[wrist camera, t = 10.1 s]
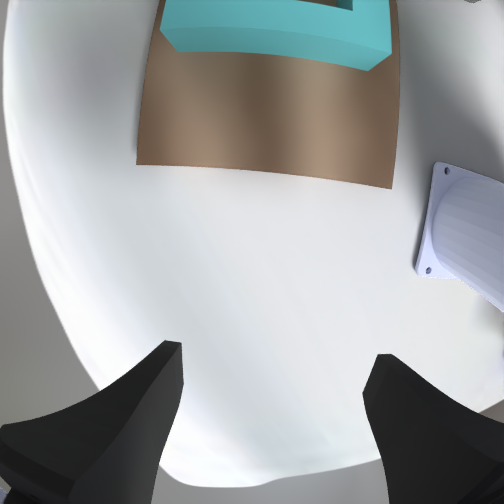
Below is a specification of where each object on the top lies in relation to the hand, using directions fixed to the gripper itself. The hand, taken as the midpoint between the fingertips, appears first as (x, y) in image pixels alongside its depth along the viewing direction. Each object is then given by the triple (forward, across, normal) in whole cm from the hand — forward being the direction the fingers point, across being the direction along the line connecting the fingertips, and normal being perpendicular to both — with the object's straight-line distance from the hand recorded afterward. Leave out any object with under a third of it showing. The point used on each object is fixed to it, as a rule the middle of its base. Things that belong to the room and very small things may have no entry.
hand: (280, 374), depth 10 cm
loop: (+8, +1, -19) cm, 21 cm away
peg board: (+9, +1, -16) cm, 19 cm away
